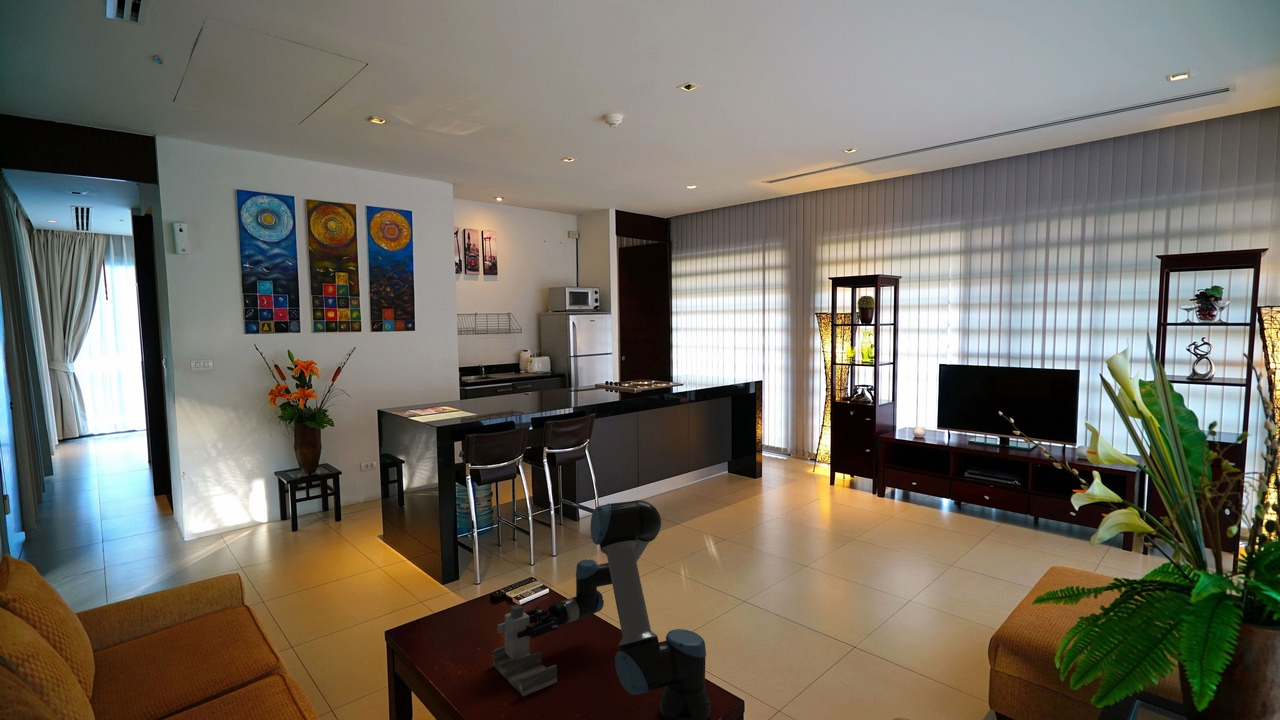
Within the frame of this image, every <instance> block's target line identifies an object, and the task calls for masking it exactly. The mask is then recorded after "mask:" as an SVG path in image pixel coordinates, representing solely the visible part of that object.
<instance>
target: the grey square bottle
mask: <svg viewBox="0 0 1280 720" xmlns="http://www.w3.org/2000/svg"><path fill="white" fill-rule="evenodd" d="M525 612H526V611H524V606H523V605H521V604H520V603H517V604H515V605H511V606H510V612H508V613H506V614H504V623H505V632H504V646H505V653H506V654H507V655H508V656H509V657H510V658H511V659H512V660H515V659H518V658H520V657H523V656H525V655H528V654H531V653H530V636H525V637H522V638H518V639H516V640H513V641H510V642H507V633H509V632H512V631H515V630H518V629H521V628H523V627H526V630H527V626H529V627H530V624H529V616H528V615H527V614H526V613H525Z"/></svg>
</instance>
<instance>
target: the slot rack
mask: <svg viewBox="0 0 1280 720" xmlns="http://www.w3.org/2000/svg"><path fill="white" fill-rule="evenodd" d="M492 656H493V661H492V662H493V663H492V665H493V667H494V668H495V669H496V670H497V671H498V673H500V674H501V675H502V676H503V677H504V678H505V679H506V680H507V681H508V683H509V684H510V685H511V686H513V688H514V689H515V690H516V691H517V692H518V693H519V694H520V695H521V696H522V697H526V696H528V695H530V694H533V693H536V692H537V691H539V690H542V689H544V688H547V687H549V686H551V685H553V684H554V685H555V684H557V682H558V665H557V664H553V665H550V666H548V667H546V666H545V665H543V664H542V652H541V651H540V650H539V651H536V652H533V653H530V654H528V655H525V656H523V657H520V658H518V659H515V660H512V659H511V658H510V657H509V656H508V655H507V654H506V653H505V645H504V646H501V647H498V648H495V649H493V655H492Z"/></svg>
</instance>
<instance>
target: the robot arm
mask: <svg viewBox="0 0 1280 720" xmlns="http://www.w3.org/2000/svg"><path fill="white" fill-rule="evenodd" d="M661 527H662V518H661V516H660V513H659V511H658V509H657V508H656V507H655V506H654V505H653V504H652V503H650V502H648V501H645V500H642V499H639V500H633V501H632V500H630V501H629V500H628V501H622V502H621V501H620V502H614V503H613V502H611V503H606V504H602V505H598V506H596V507H595V508H594V509H593V511H592V514H591V518H590V527H589V529H590V537H591V540H592V542H593V544H594V545H599V546H600V547H599V549H600V552H602V553H603V554H605V555H606V558H607V562H606V563H605V562H604V563H599V564H598V562H597V561H596V560H594V559H581V560H580V561H578V562H577V564H576V567H575V568H576V569H575V570H576V571H575V587H576V589H575V596H574V597H570V598H567V599H564V600H561V601H558V602H555V603H552V604H551V605H550V606H549V608H548V609H543V610H542V609H541V607H539V606H538V607H535V608H533V609H530V610H526V611H524V612H525V613H526V614H527V615H528V616H529V626H527V630H526V627H523V628H521V629H518V630H515V631H512V632H509V633H507V642H510V641H513V640H516V639H518V638H522V637H525V636H529V637H531V639H534V638H537V637H540V636H543V635H544V634H547V633H549V632H552V631H557V630H558V629H559V627H561V626H563V625H565V624H568V623H571V622H574V621H576V620H580V619H582V618H585V617H588V616H592V615H594V614H596V613H599V612H600V611H602V610H603V608H604V605H605V603H604V602H605V601H604V597H603V594H602V592H601V591H600V590H598V587H599V588H600V587H604V586H610V585H611V586H612V589H613V594H614V600H615V604H616V605H615V606H616V610H617V615H618V620H619V625H620V626H619V627H620V630H621V636H622V637H621V640H620V642H619V644H618V647H619V651H617V652H616V653H615V656H614V661H615V662H614V666H615V671H616V674H617V677H618V679H619V682H620V684H621V686H622V687H623V689H624V690H625V691H626V692H627V693H628V694H630V695H639V694H646V693H648V692H650V691H654V690H658V689H662V688H663V692H662V696H661V697H660V700H659V714H660V716H661V717H662V718H663V720H707V719H709V718H710V716H711V701H710V699H709V695H708V692H707V689H706V657H707V651H706V650H707V649H706V643H705V640H704V637H702V636H701V635H699V634H698V633H697V632H694V631H691V630H688V629H683V628H678V629H671V630H669V631H668V632H667V633H666V636H665V640H663V641H659V637H658V634H656V633H655V632H653V631H652V629H651V624H650V620H649V615H648V611H647V605H646V602H645V601H646V600H645V596H644V592H643V586H642V582H641V577H640V572H639V568H638V562H639V559H640V557H641V556H642V554H643V553H644V551H645V550H646V548H647V547H648V545H649V543H651V542H652V541H654V540H656V538H657V537H658V534H660V531H661ZM530 624H531V625H530ZM497 633H498V634H501V633H505V622H502V623H499V624H497ZM709 715H710V716H709ZM708 717H709V718H708Z"/></svg>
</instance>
